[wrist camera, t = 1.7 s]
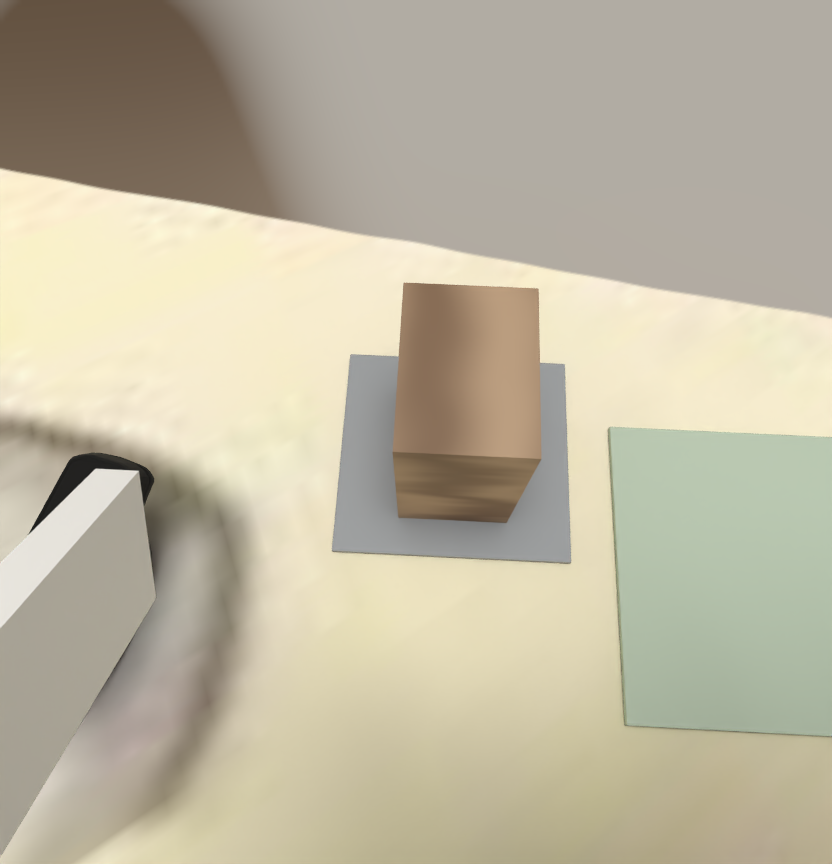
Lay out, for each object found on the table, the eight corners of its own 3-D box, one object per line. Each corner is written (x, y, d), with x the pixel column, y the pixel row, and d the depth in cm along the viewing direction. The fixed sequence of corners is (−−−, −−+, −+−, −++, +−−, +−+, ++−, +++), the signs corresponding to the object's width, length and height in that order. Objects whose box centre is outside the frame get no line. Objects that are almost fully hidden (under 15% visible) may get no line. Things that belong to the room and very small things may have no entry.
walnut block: (506, 391, 40) (538, 288, 30) (506, 523, 38) (541, 458, 27) (406, 386, 40) (403, 282, 30) (398, 517, 38) (392, 451, 27)
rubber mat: (847, 440, 40) (852, 438, 39) (905, 740, 34) (910, 740, 34) (608, 429, 40) (609, 426, 39) (624, 725, 34) (627, 725, 34)
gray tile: (563, 366, 41) (564, 364, 41) (569, 563, 37) (571, 562, 37) (351, 356, 42) (350, 354, 41) (332, 551, 37) (332, 550, 37)
